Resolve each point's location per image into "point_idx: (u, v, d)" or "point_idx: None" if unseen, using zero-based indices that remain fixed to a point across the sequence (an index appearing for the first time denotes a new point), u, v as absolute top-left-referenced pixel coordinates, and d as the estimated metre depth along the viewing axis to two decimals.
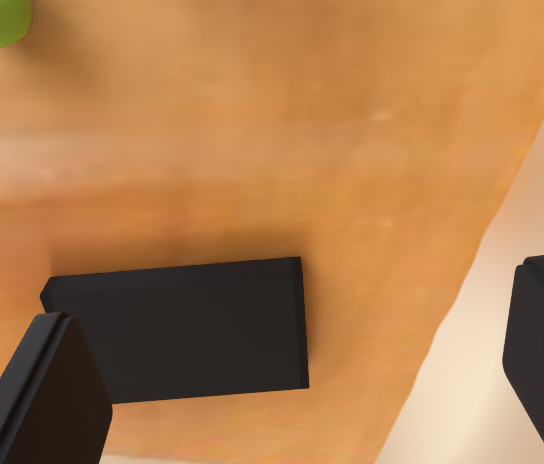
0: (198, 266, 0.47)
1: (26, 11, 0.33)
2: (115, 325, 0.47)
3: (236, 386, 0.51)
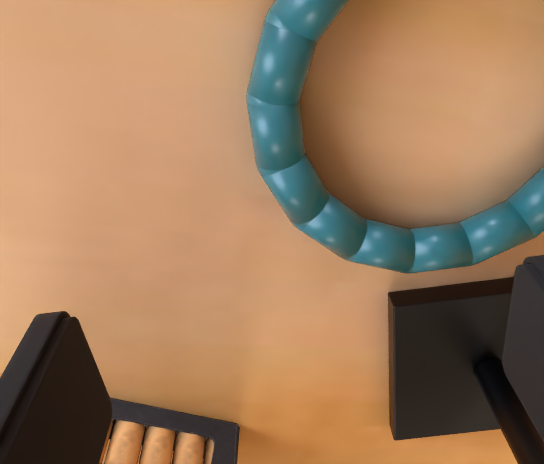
0: None
1: None
2: None
3: None
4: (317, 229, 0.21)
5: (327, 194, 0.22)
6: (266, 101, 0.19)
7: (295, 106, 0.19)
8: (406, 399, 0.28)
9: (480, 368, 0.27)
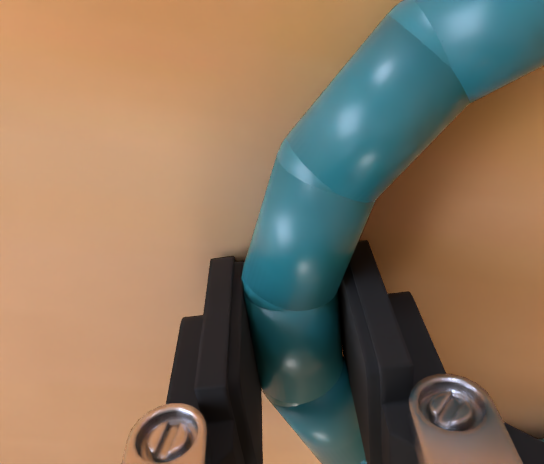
0: None
1: None
2: None
3: None
4: None
5: None
6: (278, 305, 0.10)
7: (331, 304, 0.10)
8: None
9: None
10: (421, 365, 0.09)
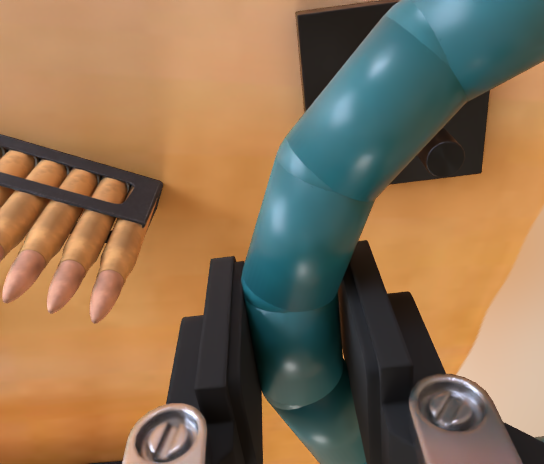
0: None
1: None
2: None
3: None
4: None
5: None
6: (279, 306, 0.10)
7: (332, 305, 0.10)
8: None
9: None
10: (421, 365, 0.09)
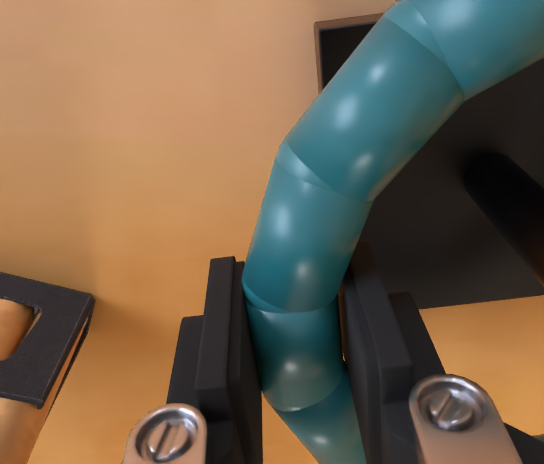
0: None
1: None
2: None
3: None
4: None
5: None
6: (281, 307, 0.10)
7: (332, 305, 0.10)
8: None
9: (476, 169, 0.15)
10: (421, 365, 0.09)
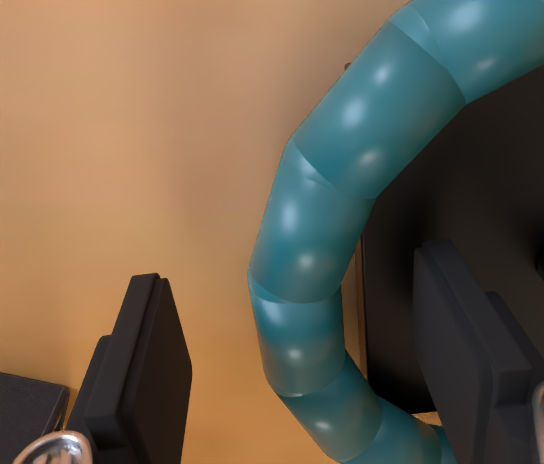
0: None
1: None
2: None
3: None
4: None
5: (380, 409, 0.13)
6: (284, 297, 0.10)
7: (334, 298, 0.11)
8: (391, 328, 0.13)
9: None
10: None
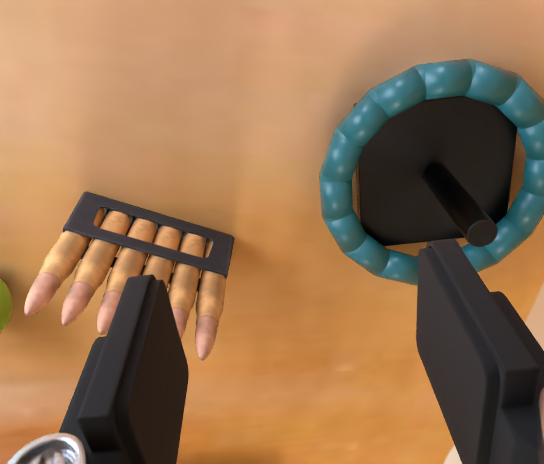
0: None
1: (6, 316, 0.36)
2: None
3: None
4: (358, 255, 0.34)
5: (365, 233, 0.34)
6: (333, 179, 0.31)
7: (349, 182, 0.32)
8: (370, 204, 0.34)
9: (428, 170, 0.33)
10: None
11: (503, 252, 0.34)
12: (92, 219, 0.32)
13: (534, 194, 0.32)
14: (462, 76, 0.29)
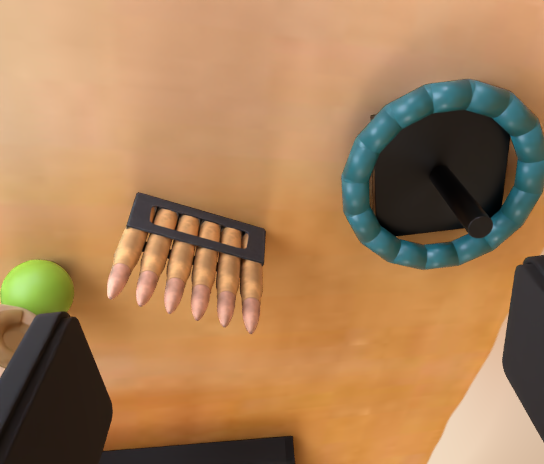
0: (205, 445, 0.55)
1: (70, 300, 0.42)
2: None
3: None
4: (374, 245, 0.40)
5: (380, 226, 0.40)
6: (353, 181, 0.37)
7: (367, 183, 0.38)
8: (384, 200, 0.40)
9: (434, 172, 0.39)
10: None
11: (498, 241, 0.40)
12: (148, 217, 0.38)
13: (525, 191, 0.38)
14: (463, 94, 0.34)
